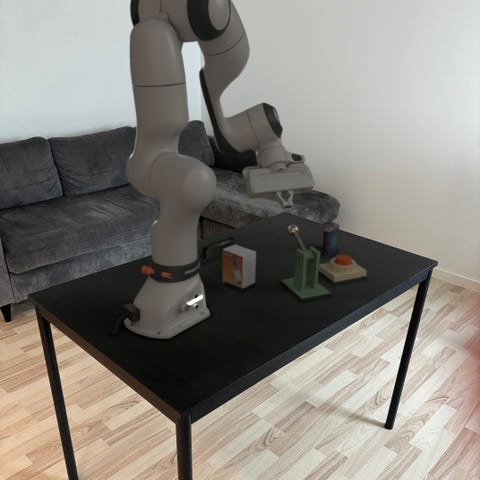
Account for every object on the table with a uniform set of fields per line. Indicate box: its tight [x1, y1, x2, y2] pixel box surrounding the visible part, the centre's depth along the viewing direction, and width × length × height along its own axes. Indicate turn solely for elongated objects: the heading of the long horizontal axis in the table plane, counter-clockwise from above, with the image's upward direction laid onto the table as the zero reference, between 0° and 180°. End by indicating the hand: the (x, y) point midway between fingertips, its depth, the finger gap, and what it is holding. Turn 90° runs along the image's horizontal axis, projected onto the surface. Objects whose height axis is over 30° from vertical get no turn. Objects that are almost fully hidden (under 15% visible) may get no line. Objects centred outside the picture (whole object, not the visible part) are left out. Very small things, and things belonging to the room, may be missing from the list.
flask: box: [321, 221, 340, 256], centre depth 155 cm, size 9×3×11 cm, turn 147°
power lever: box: [287, 224, 315, 265], centre depth 132 cm, size 13×3×3 cm, turn 23°
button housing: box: [319, 257, 368, 283], centre depth 141 cm, size 11×9×4 cm
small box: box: [221, 243, 257, 289], centre depth 134 cm, size 8×6×10 cm
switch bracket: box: [280, 246, 331, 300], centre depth 131 cm, size 12×9×12 cm
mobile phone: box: [202, 236, 235, 264], centre depth 154 cm, size 5×3×15 cm
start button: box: [335, 254, 352, 266], centre depth 140 cm, size 4×4×2 cm
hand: (287, 207), depth 135 cm, fingers closed
